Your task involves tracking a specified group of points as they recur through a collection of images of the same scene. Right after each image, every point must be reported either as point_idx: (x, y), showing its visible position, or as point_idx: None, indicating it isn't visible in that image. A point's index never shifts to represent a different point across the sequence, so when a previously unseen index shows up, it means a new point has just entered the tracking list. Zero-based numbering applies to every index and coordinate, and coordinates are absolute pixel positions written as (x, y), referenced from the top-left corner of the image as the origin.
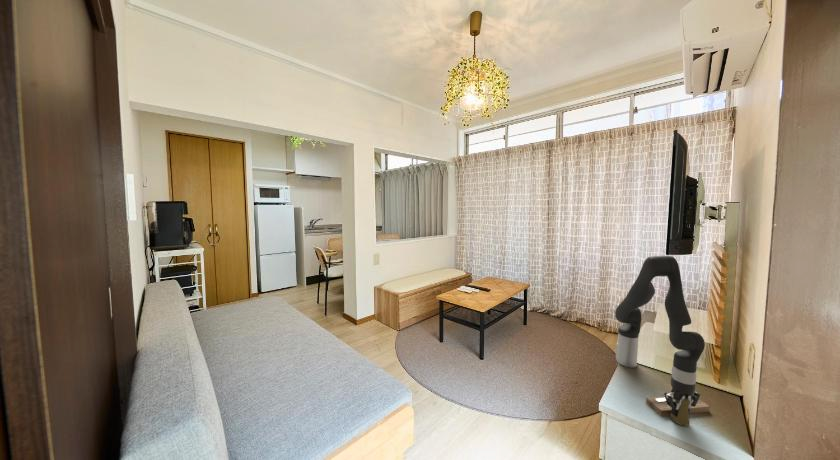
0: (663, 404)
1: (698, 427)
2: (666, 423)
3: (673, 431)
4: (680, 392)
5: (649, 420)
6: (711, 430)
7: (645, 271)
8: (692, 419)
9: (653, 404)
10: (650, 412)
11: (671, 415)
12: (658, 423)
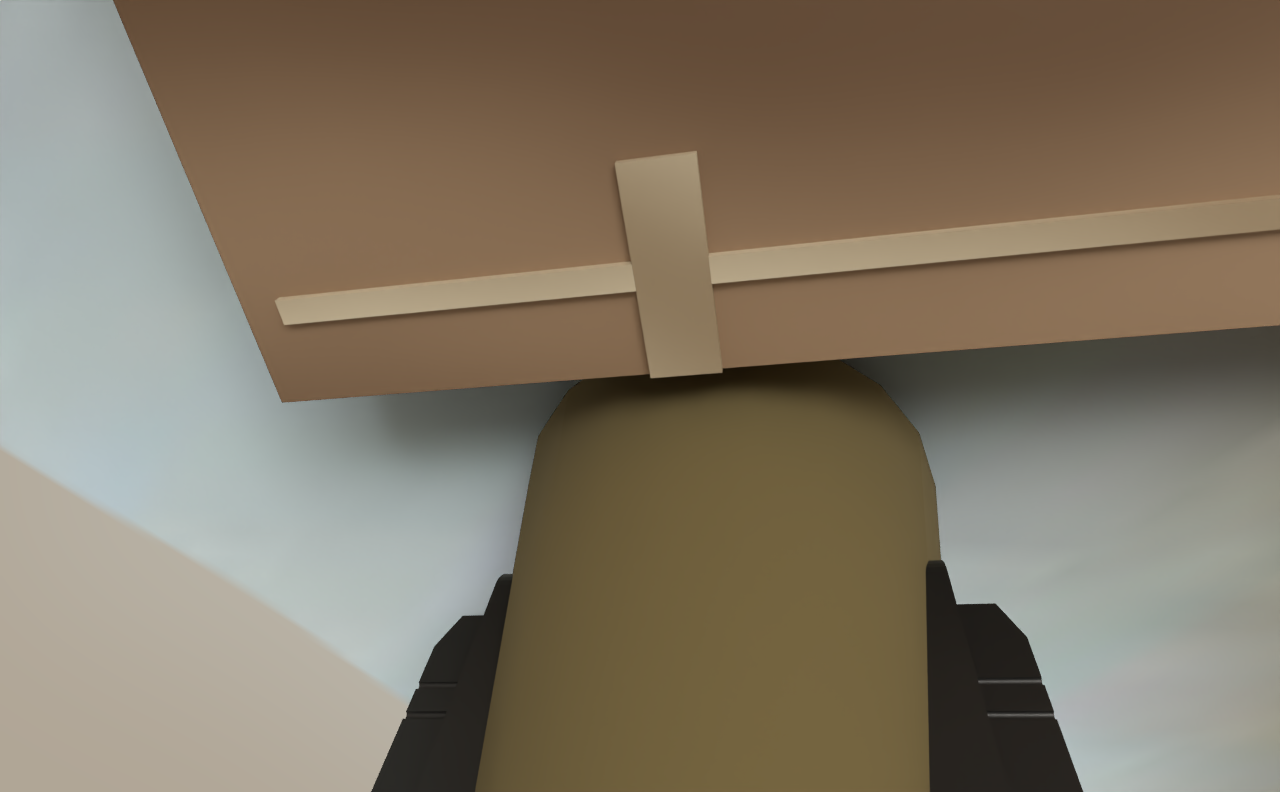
0: (531, 83)
1: None
2: (368, 525)
3: (393, 684)
4: None
5: (34, 438)
6: (1222, 721)
7: None
8: (1147, 445)
9: (151, 53)
10: (133, 182)
11: (527, 499)
12: (197, 517)
